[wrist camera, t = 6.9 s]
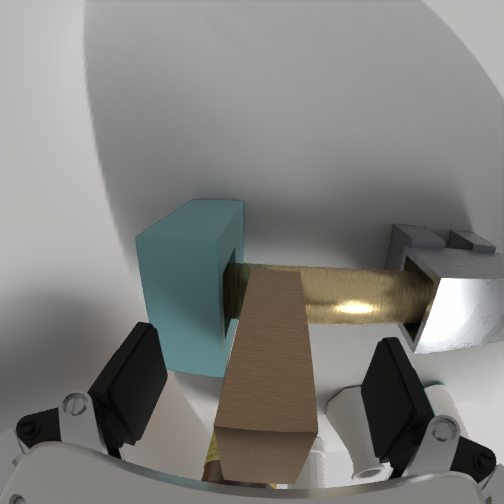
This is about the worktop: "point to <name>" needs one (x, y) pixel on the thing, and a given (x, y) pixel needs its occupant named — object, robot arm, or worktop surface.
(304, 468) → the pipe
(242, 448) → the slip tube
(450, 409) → the can
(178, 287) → the socket block
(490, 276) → the sleeve
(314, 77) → the worktop surface
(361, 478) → the flask
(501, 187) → the worktop surface
